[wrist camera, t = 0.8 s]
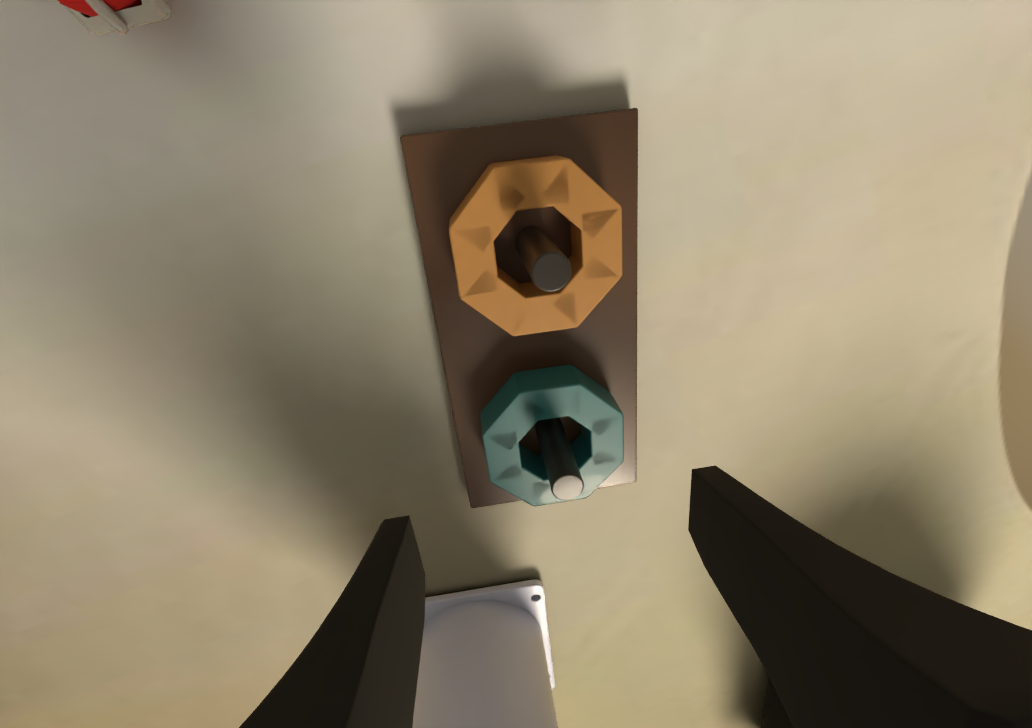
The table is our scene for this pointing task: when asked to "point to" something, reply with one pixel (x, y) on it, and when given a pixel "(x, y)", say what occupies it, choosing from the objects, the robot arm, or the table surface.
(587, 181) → the ochre ring
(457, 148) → the peg rack
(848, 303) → the table surface
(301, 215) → the table surface
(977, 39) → the table surface
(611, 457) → the teal ring
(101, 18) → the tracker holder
